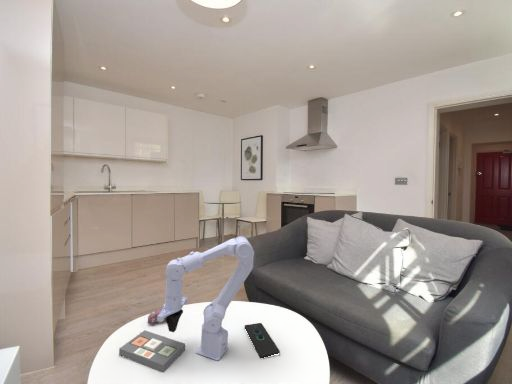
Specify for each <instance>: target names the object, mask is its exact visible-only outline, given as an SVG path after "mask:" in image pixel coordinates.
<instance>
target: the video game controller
mask: <svg viewBox="0 0 512 384" xmlns="http://www.w3.org/2000/svg"><path fill="white" fill-rule="evenodd" d="M162 309H163V308H161V309H157V310H156V311H152V312H151V313H149V315H148V317H147V321H148V322H149V323H150V322H152V323H154V324H156V323H160V322H159V321H157V315H159V314H160V312H161V311H162ZM163 322H166V320H165V319H164V321H163Z"/></svg>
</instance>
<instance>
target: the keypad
mask: <svg viewBox="0 0 512 384" xmlns="http://www.w3.org/2000/svg"><path fill="white" fill-rule="evenodd" d="M139 337H143V338H146V339H149V341H150V340H151V339H152V338H153V339H156V340H159V341H162V346H160V347H159V348H158V349H157V350H156V351H155V352H152V351H149V350H146V349H144V345H145V344H146V343H145V344H144V345H143V346H141V347H138V346H135V345H132V344H131V343H132V342H133V341H134V340H136V339H137V338H139ZM149 341H148V342H149ZM165 346H169V347H172V348H175V349H176V350H175V351H174V352H173V353H172V354H171V355H170V356H169V357H165V356H163V355H160V354H157V353H158V352H159V351H160V350H161V349H162V348H163V347H165ZM118 350H119V351H118V352H119V353H118V355H119V356H120V355H122V356H124V357H123V358H125V357H126V358H125V359H127V358H129V359H128V360H130V361H133V362H136V363H138V364H140V365H144V366H146V367H148V368H151V369H153V370H156V371H159V372H161V373H164V372H165V371H166V370H167V369H168V368H169V367H170V366H171V365H172V364H173V363H174V361H176V360H177V359H178V358H179V357H181V355H182V354H183V353H184V352H185V350H186V343H184V342H181V341H178V340H176V339H172V338H168V337H167V336H164V335H160V334H158V333H154V332H152V331H148V330H143V331H142V332H140V333H139V334H138V335H136V336H135V337H133V338H132V339H130V340H129V341H128V342H126V343H125V344H124V345H122V346H120V347H119V348H118ZM122 356H121V357H122Z"/></svg>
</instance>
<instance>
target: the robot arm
mask: <svg viewBox="0 0 512 384" xmlns="http://www.w3.org/2000/svg"><path fill="white" fill-rule="evenodd" d="M224 255H227V256H230V257H235V255H236V258H237V260H238V265H237V267H236V268H235V269H234V271H233V272H232V274H231V276H230V277H229V279H228V280H227V282H226V284H225V285H224V286H223V288H222V289H221V291H220V292H219V294H218V295H217V296H216V298H215V299H213V300H212V301H211V302H210V303H209V304H208V305H206V306H205V308H204V309H203V324H202V325H201V339H200V340H201V341H200V346H199V348H197V350H196V351H195V353H196V354H198V355H200V356H203V357H206V358H207V359H211V360H214V361H217V362H218V361H220V359H221V358H222V357H223V356H224V354H225V353H226V351H227V350H228V349H229V346H228V340H229V339H228V338H229V332H228V330H227V329H225V328H223V326H222V324H223V320H224V319H225V317H226V314H227V313H226V312H227V309H228V307H229V305H230V304H231V303H232V301H233V299H234V298H235V296H236V295H237V293H238V292H239V291H240V289H241V287H242V286H243V284H244V282H245V281H246V279H248V276H249V275H250V273H251V272H252V270H253V268H254V256H255V250H254V248H253V246H252V244H251V243H250V242H249V240H248V238H247V237H245V236H244V235H243V236H242V235H239V236H236V237H234V238H231V239H228V240H226V241H225V242H223V243H219V244H218V245H216V246H214V247H211V248H210V249H208V250H205V251H203V252H199V251H195V252H194V251H191V252H189V254H187V255H185V256H183V257H177V258H176V259H172V260H170V261H169V262H168V263H167V264H166V268H165V272H164V276H165V280H166V281H165V294H164V303H163V304H162V308H161V309H162V311H161V312H160V314H159V315H157V321H159V322H158V323H163V322H166V325H167V329H168V332H171V333H175V332H176V331H177V328H178V324H179V322H180V319H181V317H182V315H183V313H184V310H183V307H184V305H186V304H188V297H184V296H183V275H185V274H188V273H190V272H192V271H195V270H198V269H200V268H202V267H203V266H204V264H205V263H206V262H208V261H210V260H213V259H217V258H220V257H222V256H224ZM164 319H165V320H166V321H164Z"/></svg>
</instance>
